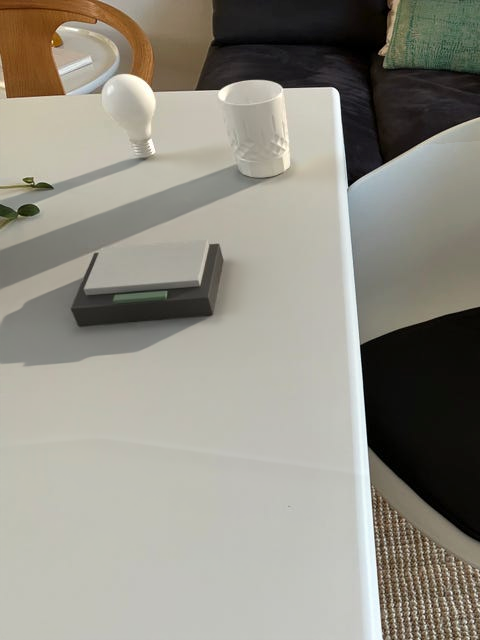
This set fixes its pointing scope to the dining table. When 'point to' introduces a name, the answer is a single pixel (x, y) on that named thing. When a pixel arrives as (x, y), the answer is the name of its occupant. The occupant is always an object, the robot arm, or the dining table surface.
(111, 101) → the lightbulb
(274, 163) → the white cup
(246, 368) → the dining table surface
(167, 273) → the scale
